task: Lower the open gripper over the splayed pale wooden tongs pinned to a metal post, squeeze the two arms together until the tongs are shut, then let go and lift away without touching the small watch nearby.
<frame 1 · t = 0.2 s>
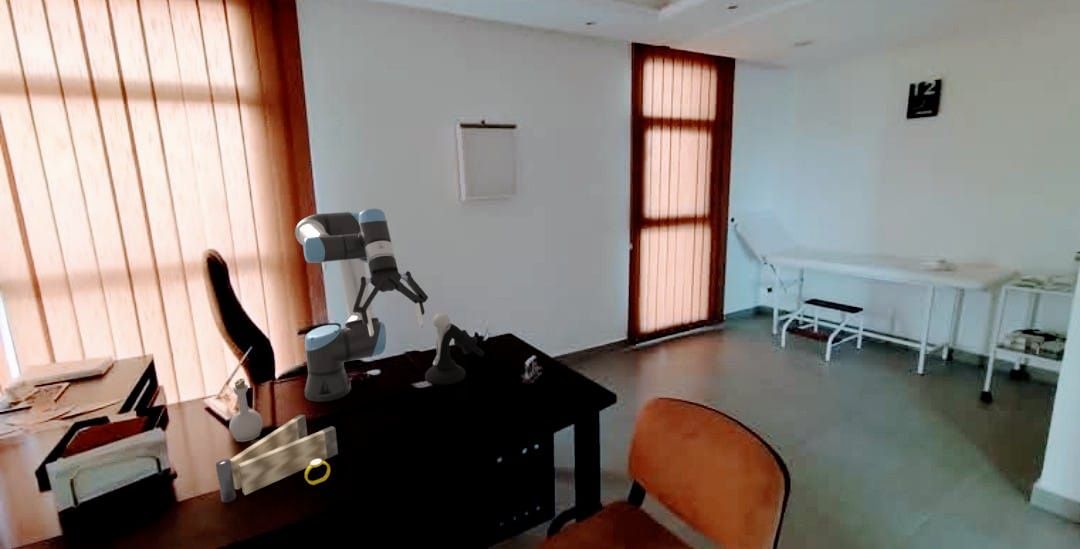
hand: (397, 330, 139), 36 cm above the table, tool tilted 35°, fingers open, 13 cm apart
potion bottle: (247, 436, 153), on the table
watch: (318, 482, 132), on the table
tongs arm 2: (291, 458, 135), point 4 cm above the table, hinge at -12.0°
tongs arm 1: (271, 449, 139), point 4 cm above the table, hinge at 12.0°
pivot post: (228, 498, 126), on the table
sculpture: (456, 374, 196), on the table
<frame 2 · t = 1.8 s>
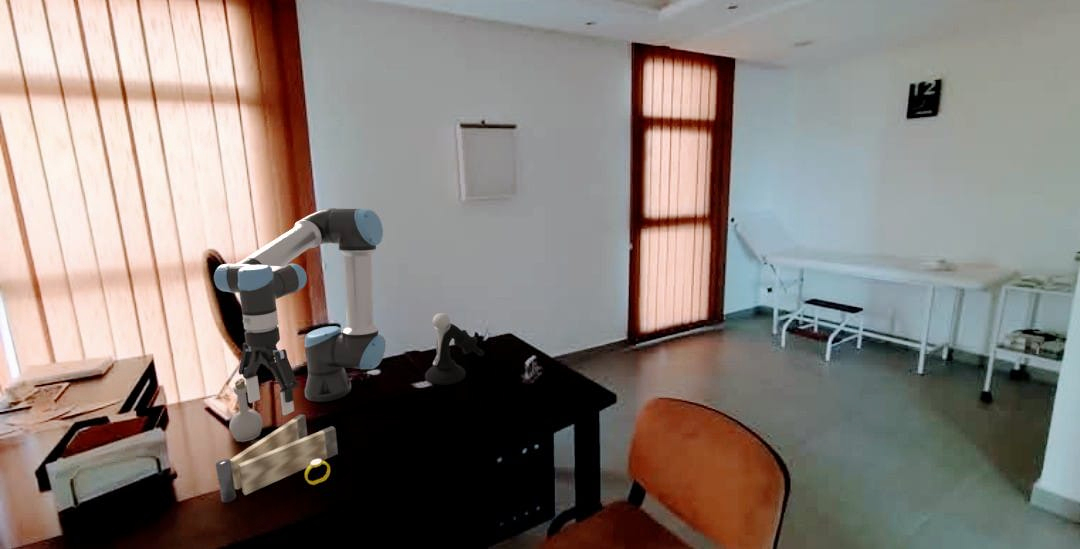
hand: (271, 406, 131), 19 cm above the table, tool pointing down, fingers open, 13 cm apart
nothing on the table moved.
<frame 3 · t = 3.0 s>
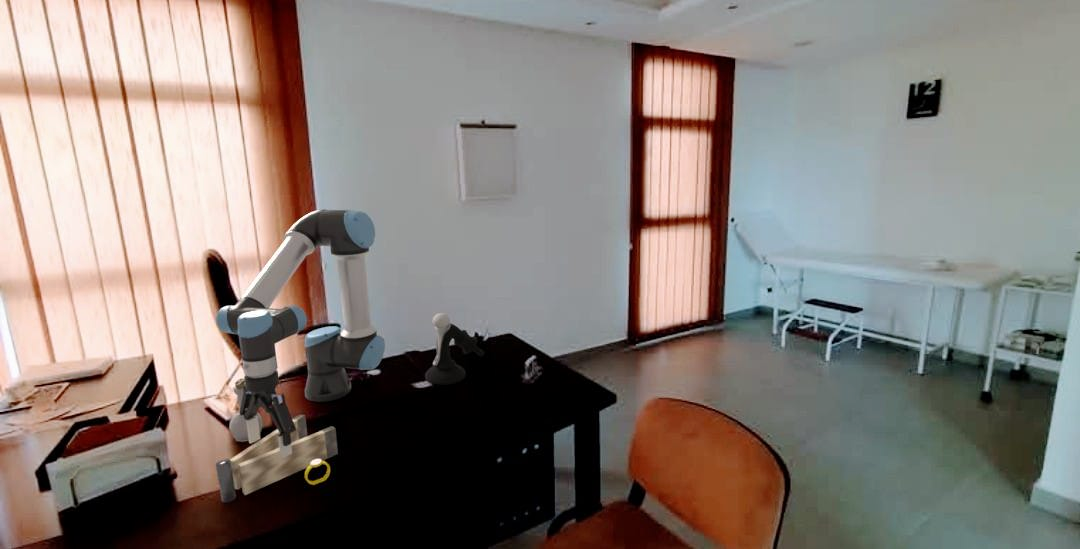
hand: (270, 448, 133), 8 cm above the table, tool pointing down, fingers open, 13 cm apart
nothing on the table moved.
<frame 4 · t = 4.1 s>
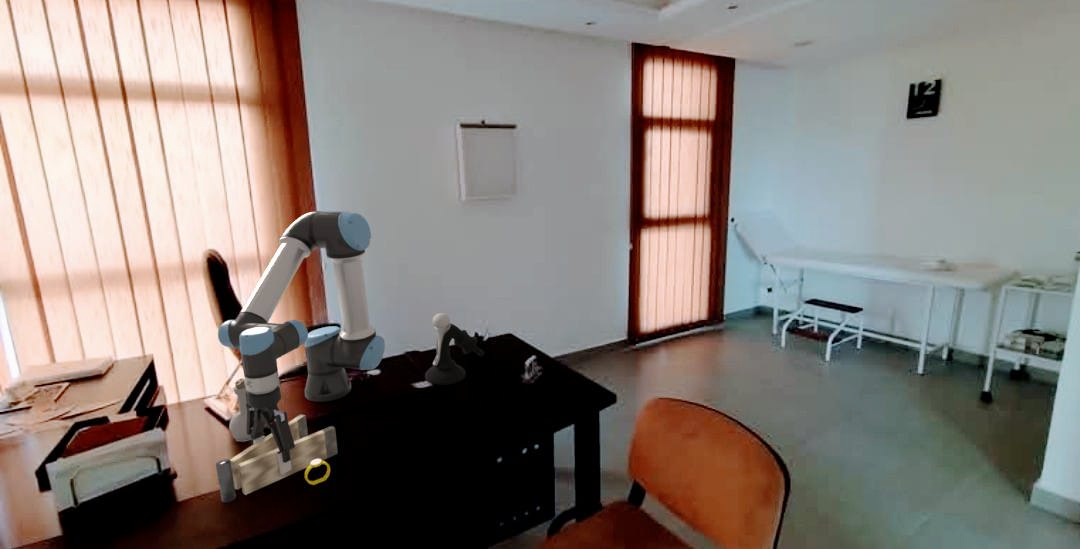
hand: (273, 465, 135), 2 cm above the table, tool pointing down, fingers open, 10 cm apart
tongs arm 2: (291, 458, 135), point 4 cm above the table, hinge at -11.7°, touching gripper
tongs arm 1: (271, 449, 139), point 4 cm above the table, hinge at 11.6°, touching gripper
everything else where it was.
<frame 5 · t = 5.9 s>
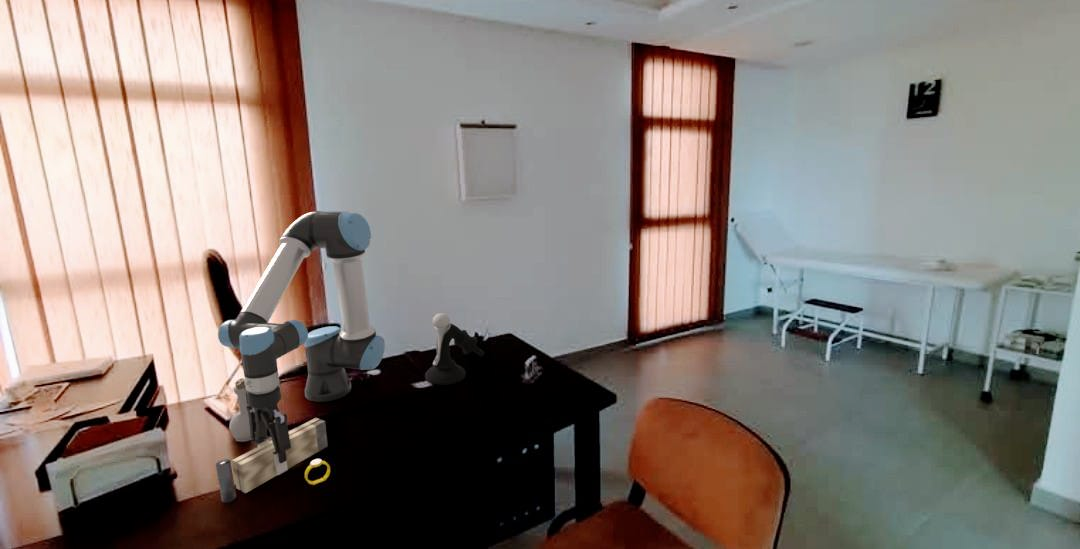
hand: (274, 467, 135), 1 cm above the table, tool pointing down, fingers open, 6 cm apart
tongs arm 2: (285, 453, 137), point 4 cm above the table, hinge at 0.2°
tongs arm 1: (280, 451, 138), point 4 cm above the table, hinge at -0.2°
everything else where it was.
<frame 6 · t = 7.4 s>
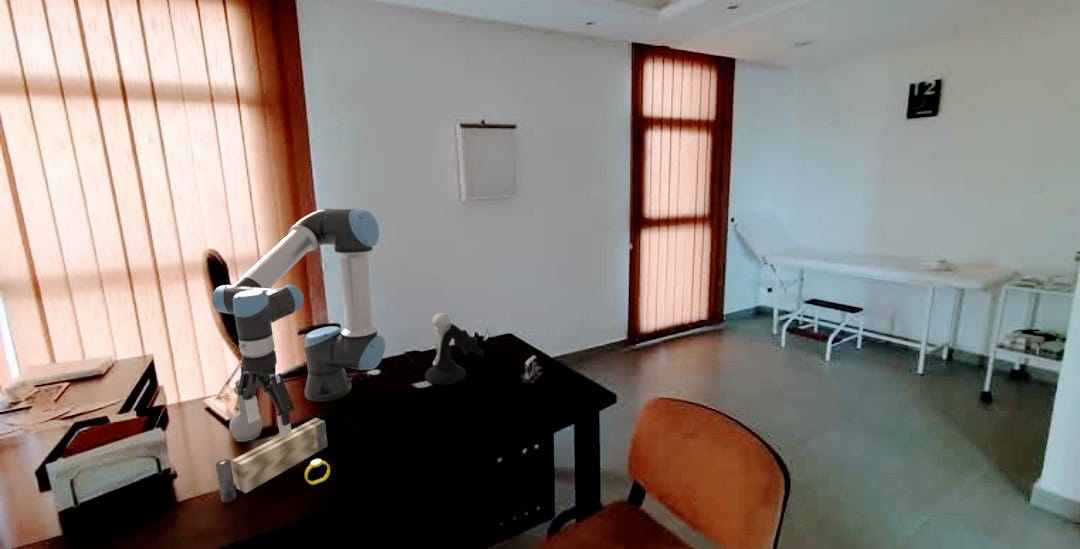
hand: (269, 427, 133), 13 cm above the table, tool pointing down, fingers open, 13 cm apart
nothing on the table moved.
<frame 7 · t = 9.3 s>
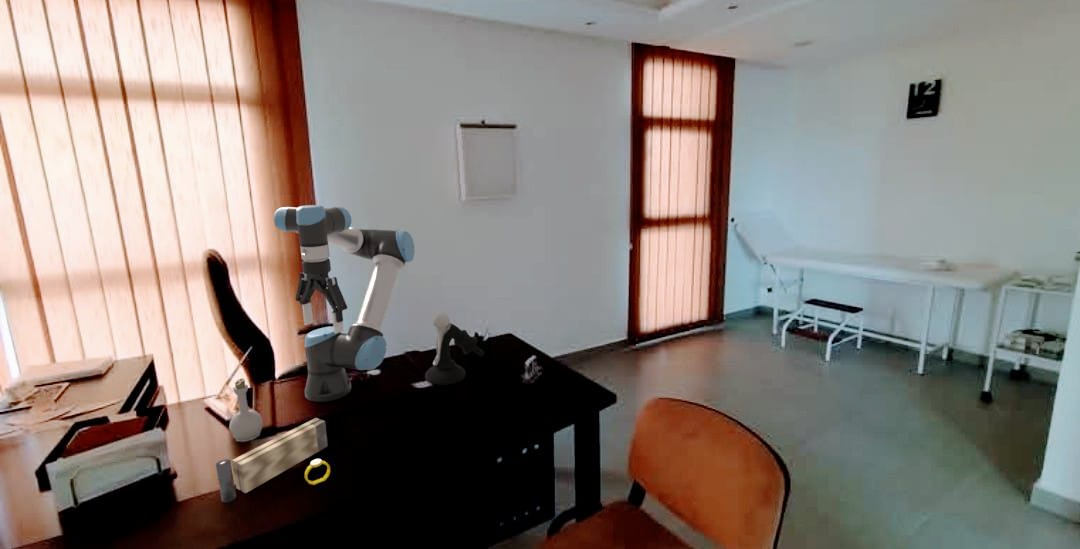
hand: (323, 327, 154), 31 cm above the table, tool pointing down, fingers open, 13 cm apart
nothing on the table moved.
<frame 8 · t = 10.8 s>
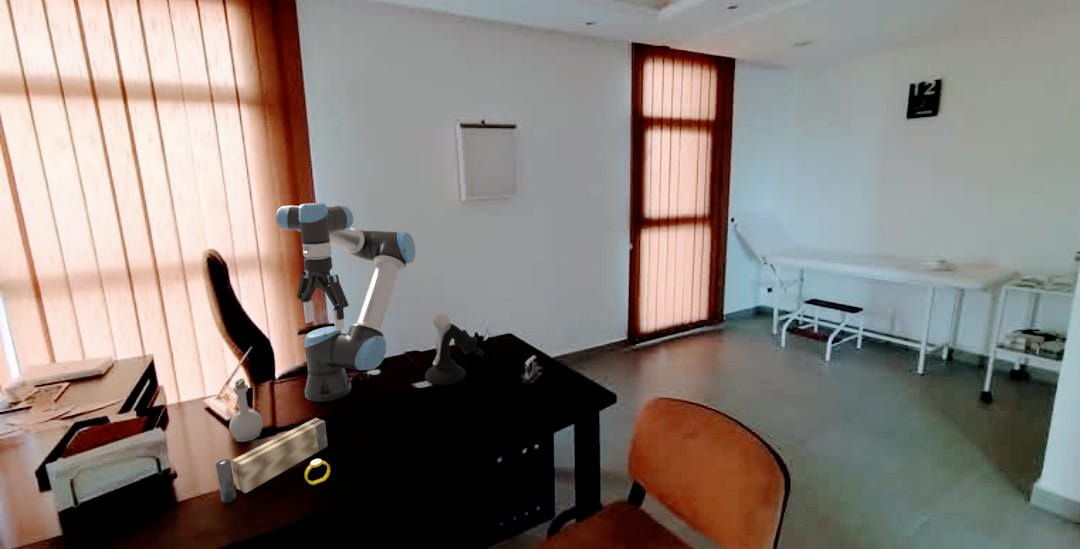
hand: (324, 325, 154), 32 cm above the table, tool pointing down, fingers open, 13 cm apart
nothing on the table moved.
at the end: tongs arm 1 at +0° (first picture: +12°); tongs arm 2 at +0° (first picture: -12°); watch moved 0.3 cm from its start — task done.
